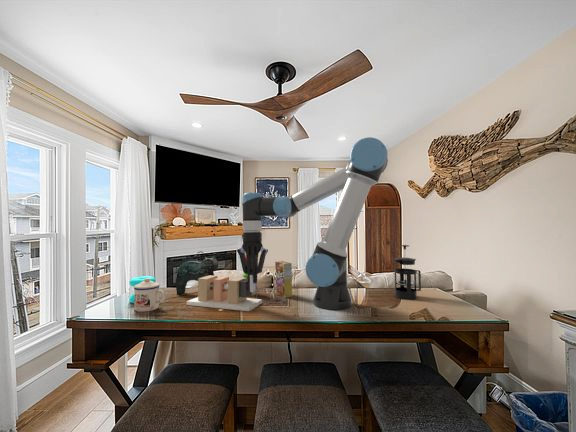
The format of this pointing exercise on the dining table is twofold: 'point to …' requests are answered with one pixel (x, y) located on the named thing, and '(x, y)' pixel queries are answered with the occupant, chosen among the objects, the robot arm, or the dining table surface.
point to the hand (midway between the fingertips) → (252, 291)
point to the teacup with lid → (147, 296)
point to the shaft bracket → (222, 294)
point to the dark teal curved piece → (194, 271)
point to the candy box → (283, 278)
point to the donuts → (137, 281)
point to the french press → (402, 291)
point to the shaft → (243, 288)
